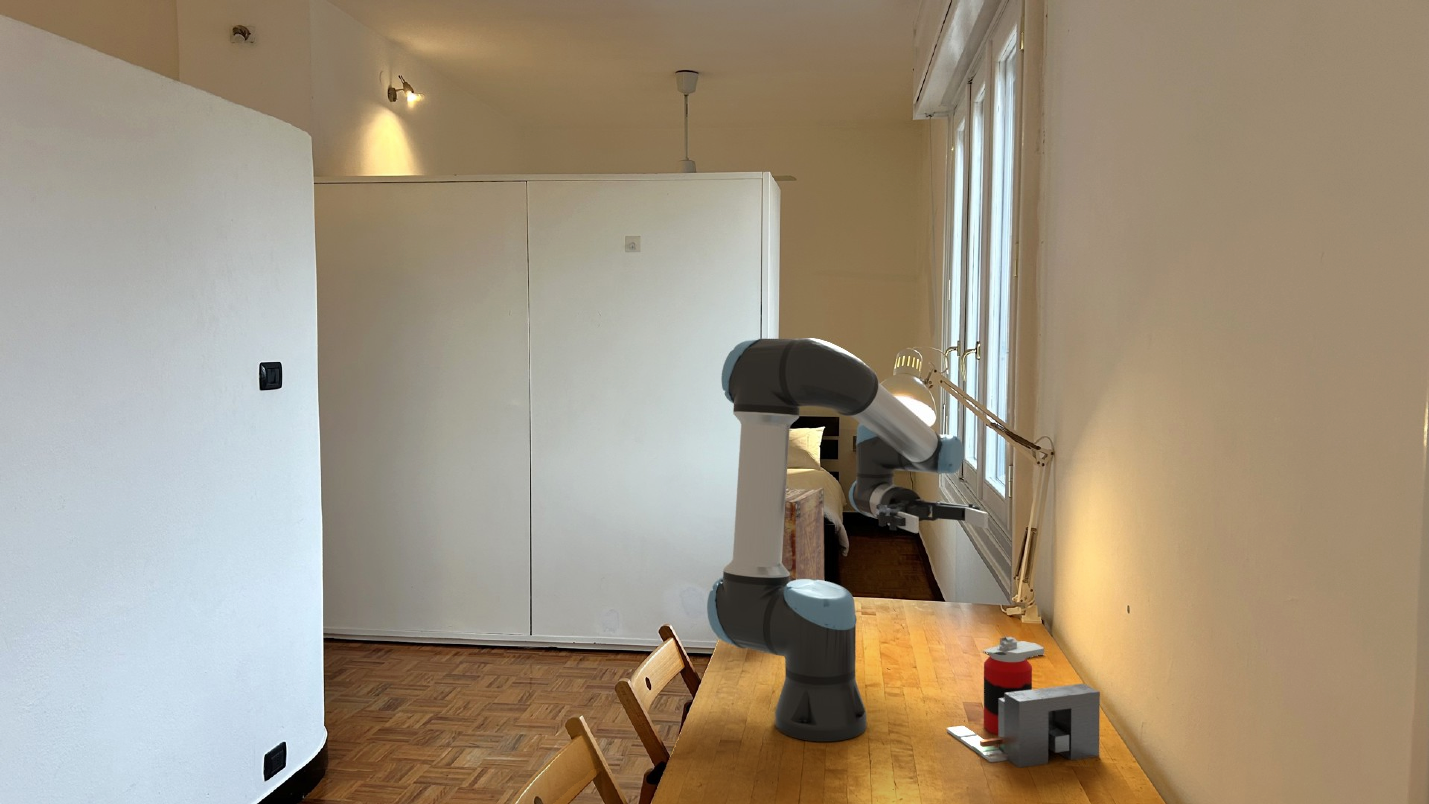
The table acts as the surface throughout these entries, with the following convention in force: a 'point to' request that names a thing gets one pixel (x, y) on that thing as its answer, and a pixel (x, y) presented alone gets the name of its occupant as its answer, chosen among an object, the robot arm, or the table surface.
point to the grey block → (1056, 737)
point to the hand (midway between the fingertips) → (951, 522)
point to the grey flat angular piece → (1016, 647)
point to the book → (804, 534)
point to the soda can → (1003, 682)
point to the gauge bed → (1042, 725)
